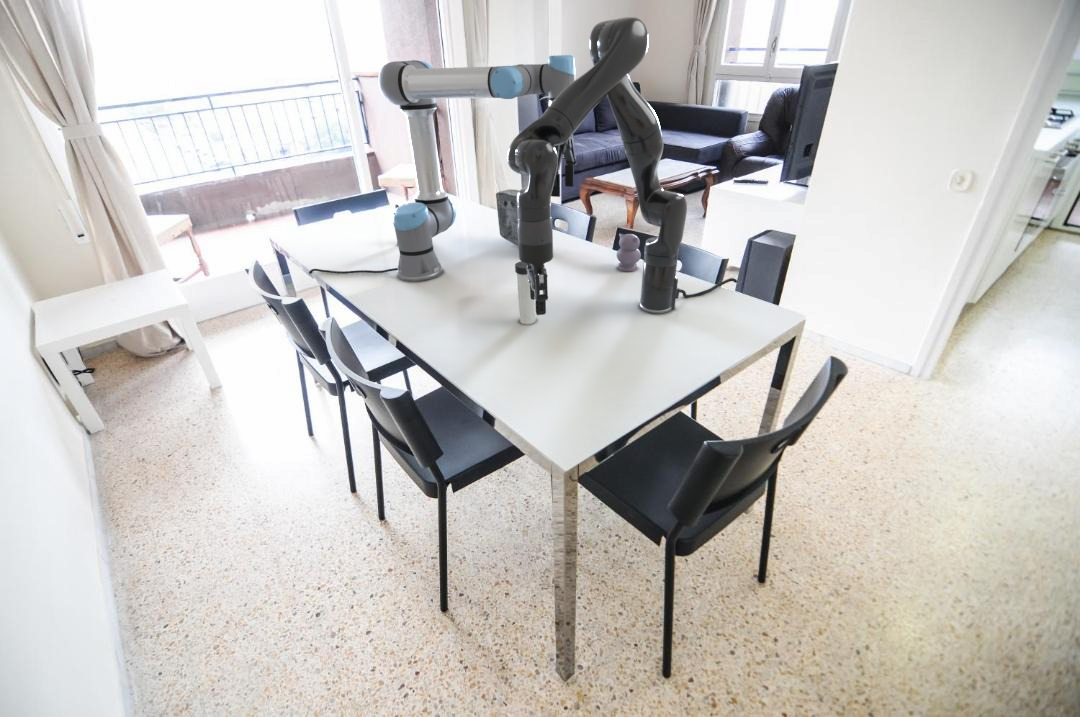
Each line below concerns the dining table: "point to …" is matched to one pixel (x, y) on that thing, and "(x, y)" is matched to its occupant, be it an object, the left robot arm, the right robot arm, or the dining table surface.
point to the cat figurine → (628, 252)
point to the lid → (521, 268)
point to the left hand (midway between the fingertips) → (562, 191)
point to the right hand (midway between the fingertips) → (537, 306)
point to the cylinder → (525, 301)
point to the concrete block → (508, 215)
